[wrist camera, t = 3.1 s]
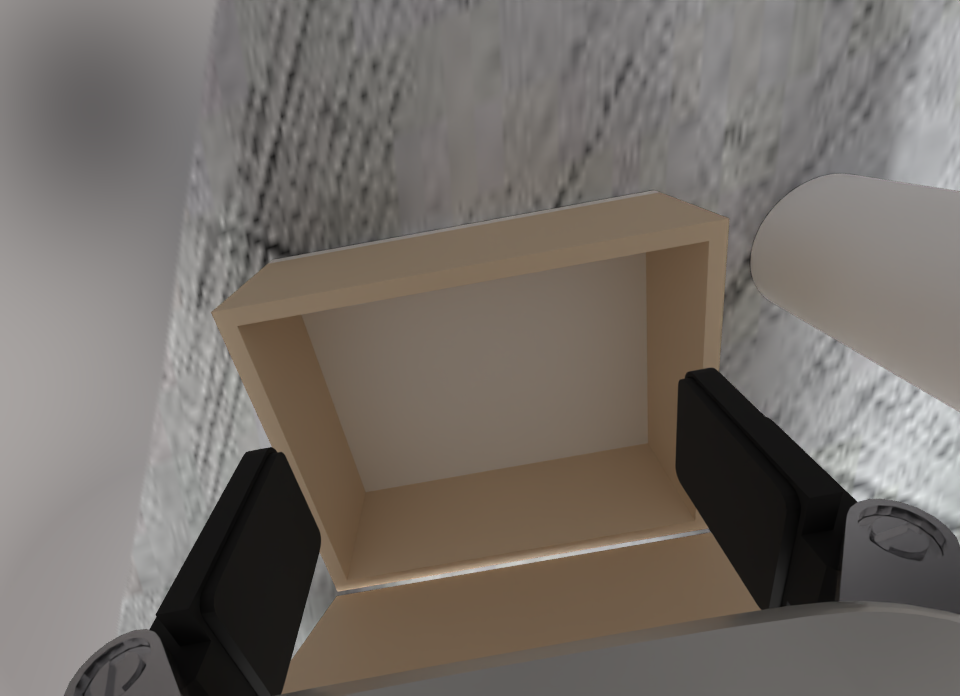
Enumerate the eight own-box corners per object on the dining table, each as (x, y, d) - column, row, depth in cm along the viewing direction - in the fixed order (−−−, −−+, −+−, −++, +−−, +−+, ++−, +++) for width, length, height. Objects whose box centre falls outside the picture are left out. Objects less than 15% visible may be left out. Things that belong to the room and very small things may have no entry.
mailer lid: (1181, 869, 9) (1192, 910, 9) (711, 532, 28) (713, 544, 28) (13, 1053, 9) (17, 1092, 9) (336, 596, 28) (338, 608, 28)
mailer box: (654, 190, 27) (729, 218, 20) (654, 443, 35) (708, 528, 28) (272, 259, 27) (211, 312, 20) (359, 494, 35) (337, 591, 28)
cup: (787, 161, 27) (1179, 217, 12) (913, 187, 28) (1407, 267, 14) (728, 297, 30) (982, 465, 16) (843, 316, 31) (1176, 488, 17)
